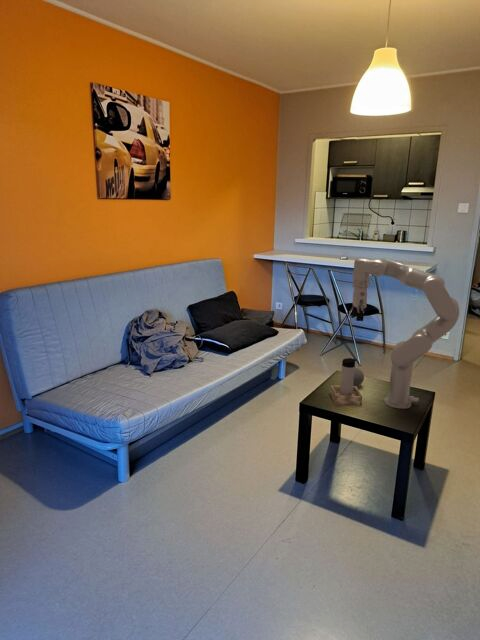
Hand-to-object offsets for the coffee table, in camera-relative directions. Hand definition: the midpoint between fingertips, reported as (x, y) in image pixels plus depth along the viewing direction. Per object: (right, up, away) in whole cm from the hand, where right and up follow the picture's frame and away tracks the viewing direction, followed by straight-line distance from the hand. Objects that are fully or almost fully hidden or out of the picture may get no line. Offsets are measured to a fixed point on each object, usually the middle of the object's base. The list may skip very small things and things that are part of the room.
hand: (357, 318), depth 221 cm
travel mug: (-5, -39, +3) cm, 40 cm away
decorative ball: (+3, -37, +21) cm, 42 cm away
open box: (-5, -41, +3) cm, 41 cm away
